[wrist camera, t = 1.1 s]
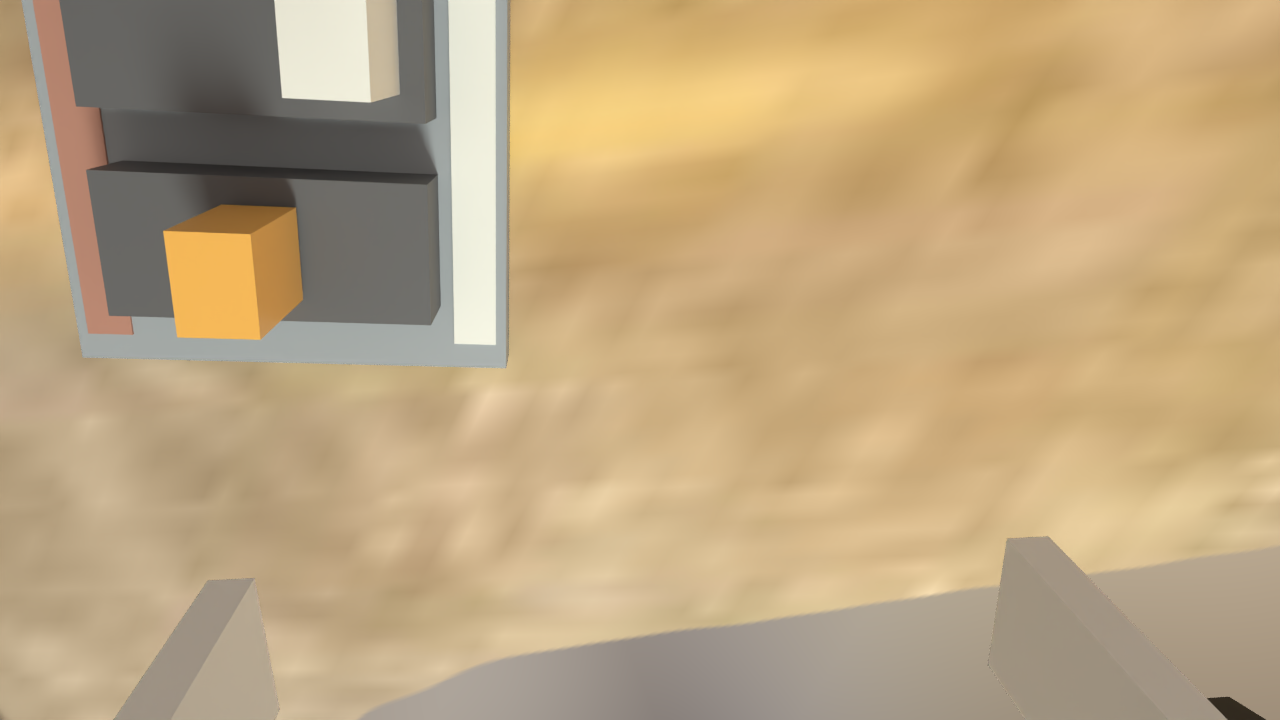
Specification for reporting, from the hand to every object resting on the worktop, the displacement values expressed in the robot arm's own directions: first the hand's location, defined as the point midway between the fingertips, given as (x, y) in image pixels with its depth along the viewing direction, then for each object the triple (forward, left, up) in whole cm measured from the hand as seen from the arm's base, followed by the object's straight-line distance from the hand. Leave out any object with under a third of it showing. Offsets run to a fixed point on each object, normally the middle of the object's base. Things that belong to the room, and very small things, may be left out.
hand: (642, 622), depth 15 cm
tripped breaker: (-12, +2, -17) cm, 21 cm away
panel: (-12, +9, -21) cm, 26 cm away
